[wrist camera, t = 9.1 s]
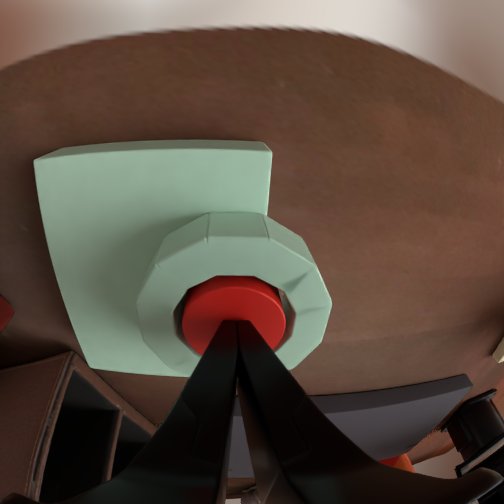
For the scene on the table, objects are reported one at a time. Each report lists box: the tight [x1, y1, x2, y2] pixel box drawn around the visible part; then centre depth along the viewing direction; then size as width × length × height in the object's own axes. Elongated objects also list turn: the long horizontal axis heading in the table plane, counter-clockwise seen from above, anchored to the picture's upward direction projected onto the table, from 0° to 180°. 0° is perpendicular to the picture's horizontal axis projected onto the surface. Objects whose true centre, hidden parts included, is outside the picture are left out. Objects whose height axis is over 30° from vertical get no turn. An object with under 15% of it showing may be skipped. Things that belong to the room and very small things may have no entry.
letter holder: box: [0, 351, 158, 504], centre depth 11 cm, size 10×20×14 cm, turn 111°
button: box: [182, 275, 286, 355], centre depth 10 cm, size 3×3×2 cm
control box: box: [34, 140, 332, 377], centre depth 11 cm, size 10×10×4 cm
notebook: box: [228, 374, 473, 478], centre depth 21 cm, size 13×2×21 cm
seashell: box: [241, 486, 260, 504], centre depth 27 cm, size 4×8×4 cm, turn 133°
